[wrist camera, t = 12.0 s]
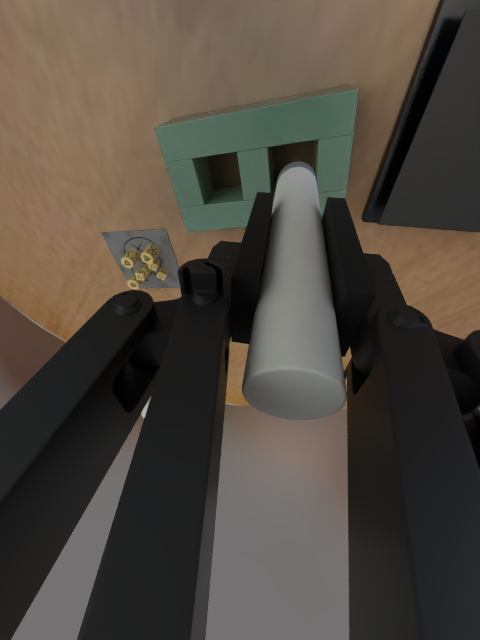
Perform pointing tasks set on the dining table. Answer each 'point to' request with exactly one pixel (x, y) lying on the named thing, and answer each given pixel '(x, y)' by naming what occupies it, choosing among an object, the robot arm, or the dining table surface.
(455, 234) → the dining table surface
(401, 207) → the screen
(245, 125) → the pen stand
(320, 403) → the gray cylindrical rod
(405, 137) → the tablet
